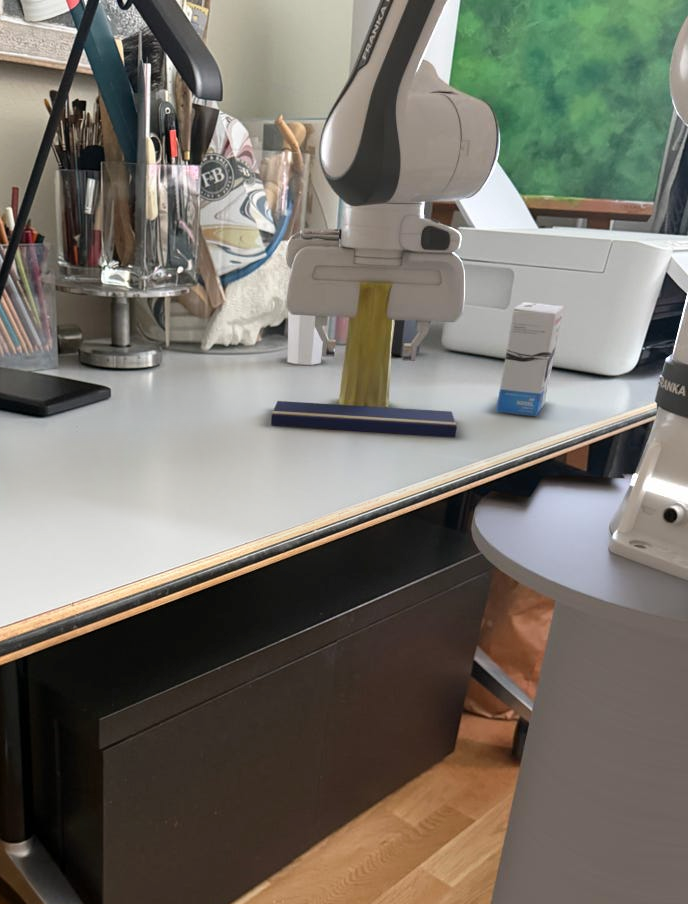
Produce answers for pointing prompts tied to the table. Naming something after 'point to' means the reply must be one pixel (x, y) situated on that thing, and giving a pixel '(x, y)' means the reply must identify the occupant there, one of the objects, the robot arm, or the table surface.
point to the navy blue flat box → (364, 418)
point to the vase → (368, 349)
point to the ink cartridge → (403, 336)
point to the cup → (303, 339)
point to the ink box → (529, 358)
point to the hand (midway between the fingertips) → (368, 358)
